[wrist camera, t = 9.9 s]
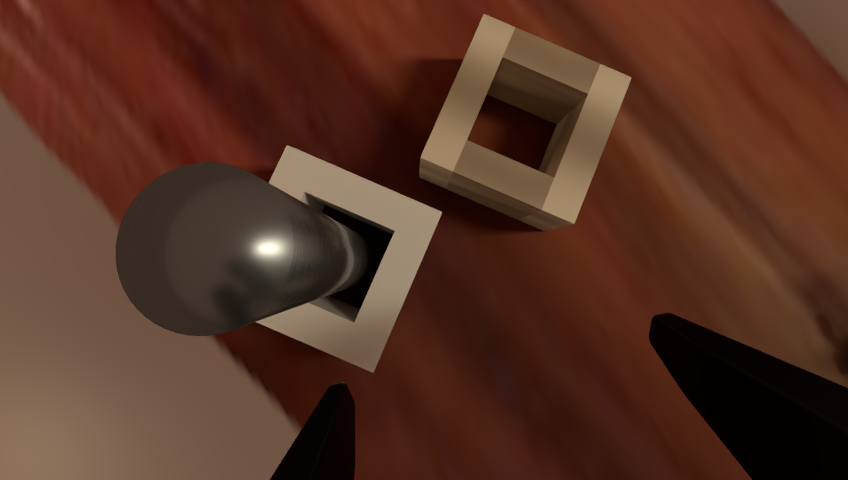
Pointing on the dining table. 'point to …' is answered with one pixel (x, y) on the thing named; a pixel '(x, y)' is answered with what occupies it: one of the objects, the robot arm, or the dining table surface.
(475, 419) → the dining table surface
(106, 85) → the dining table surface
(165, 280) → the grey metal rod
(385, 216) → the socket block
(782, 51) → the dining table surface
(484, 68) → the beige square frame block
